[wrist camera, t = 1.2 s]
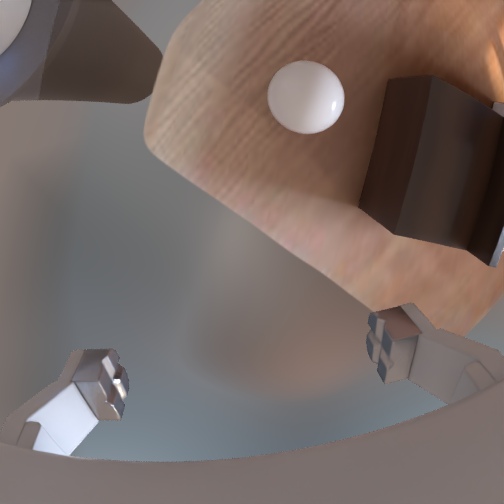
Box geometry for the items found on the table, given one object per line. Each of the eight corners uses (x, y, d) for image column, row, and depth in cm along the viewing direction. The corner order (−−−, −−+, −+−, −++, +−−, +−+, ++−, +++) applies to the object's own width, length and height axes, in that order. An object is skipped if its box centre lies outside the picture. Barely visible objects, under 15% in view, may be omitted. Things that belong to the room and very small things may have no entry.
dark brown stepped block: (357, 207, 37) (414, 251, 25) (388, 79, 31) (459, 72, 19) (434, 225, 39) (496, 267, 27) (463, 114, 33) (535, 126, 21)
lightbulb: (296, 140, 33) (329, 152, 23) (245, 109, 32) (257, 107, 22) (326, 93, 31) (370, 87, 21) (276, 61, 30) (302, 39, 20)
